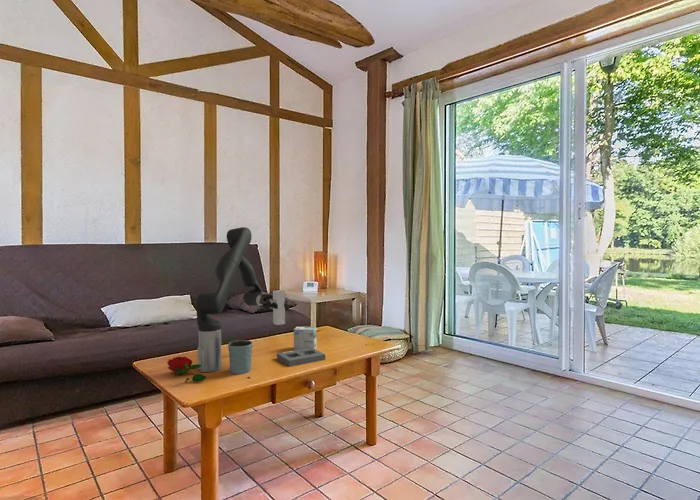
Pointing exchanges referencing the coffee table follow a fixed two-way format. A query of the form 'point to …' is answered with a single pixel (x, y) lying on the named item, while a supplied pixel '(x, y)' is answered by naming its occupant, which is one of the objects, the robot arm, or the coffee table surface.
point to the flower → (185, 367)
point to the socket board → (300, 356)
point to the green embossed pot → (240, 356)
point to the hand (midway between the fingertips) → (281, 306)
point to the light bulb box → (305, 338)
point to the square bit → (279, 307)
